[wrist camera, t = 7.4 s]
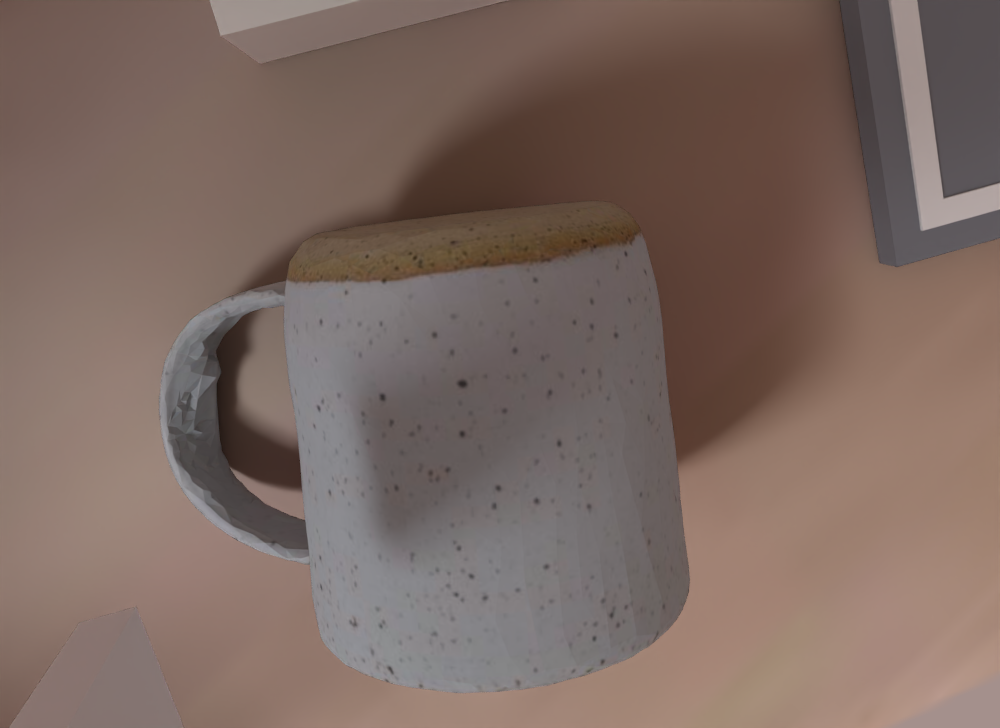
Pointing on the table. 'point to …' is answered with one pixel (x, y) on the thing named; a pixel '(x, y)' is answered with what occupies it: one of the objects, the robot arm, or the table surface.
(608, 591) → the ceramic mug
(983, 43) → the mat
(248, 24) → the button box
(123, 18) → the table surface
